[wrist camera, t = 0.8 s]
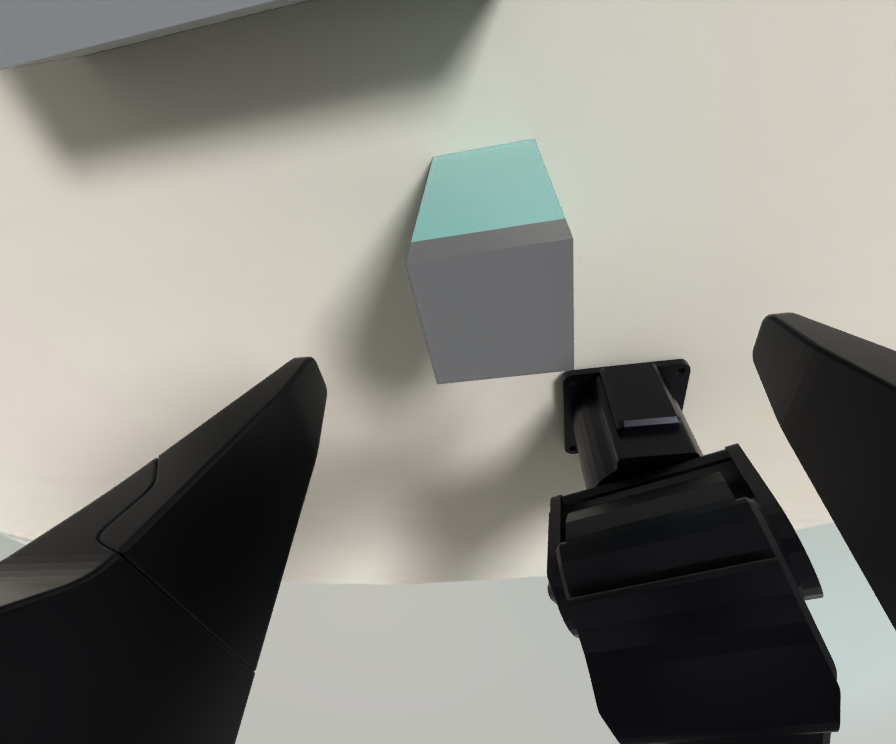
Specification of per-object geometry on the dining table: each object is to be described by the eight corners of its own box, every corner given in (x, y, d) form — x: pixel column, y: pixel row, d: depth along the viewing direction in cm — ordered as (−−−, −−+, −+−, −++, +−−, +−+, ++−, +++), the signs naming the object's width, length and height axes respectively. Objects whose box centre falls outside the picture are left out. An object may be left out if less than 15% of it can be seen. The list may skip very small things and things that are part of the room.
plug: (539, 236, 20) (573, 369, 13) (450, 249, 21) (437, 383, 14) (534, 138, 17) (573, 238, 10) (433, 157, 18) (405, 263, 11)
